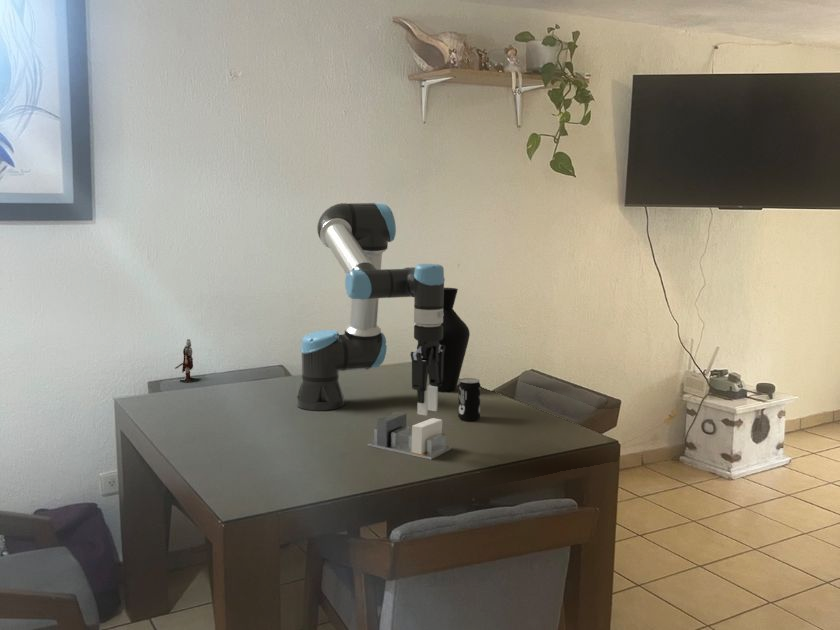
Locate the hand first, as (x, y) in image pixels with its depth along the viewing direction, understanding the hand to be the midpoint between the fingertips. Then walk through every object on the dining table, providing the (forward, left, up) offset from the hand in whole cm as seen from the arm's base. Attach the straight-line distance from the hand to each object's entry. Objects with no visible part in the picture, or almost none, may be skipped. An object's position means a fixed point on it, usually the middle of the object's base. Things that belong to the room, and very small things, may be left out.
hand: (427, 412), depth 208 cm
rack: (-6, 0, -11) cm, 12 cm away
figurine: (-112, +18, -11) cm, 114 cm away
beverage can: (-6, +33, -11) cm, 35 cm away
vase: (-31, +60, -11) cm, 68 cm away
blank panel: (0, 0, -10) cm, 10 cm away
